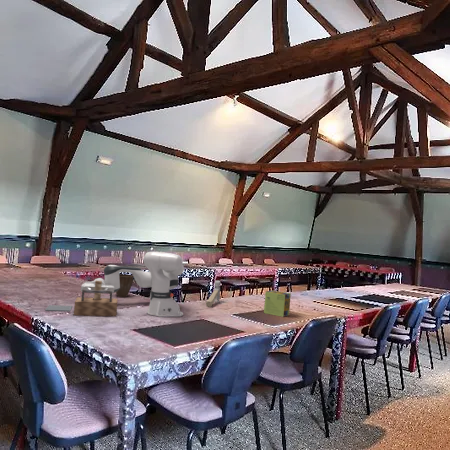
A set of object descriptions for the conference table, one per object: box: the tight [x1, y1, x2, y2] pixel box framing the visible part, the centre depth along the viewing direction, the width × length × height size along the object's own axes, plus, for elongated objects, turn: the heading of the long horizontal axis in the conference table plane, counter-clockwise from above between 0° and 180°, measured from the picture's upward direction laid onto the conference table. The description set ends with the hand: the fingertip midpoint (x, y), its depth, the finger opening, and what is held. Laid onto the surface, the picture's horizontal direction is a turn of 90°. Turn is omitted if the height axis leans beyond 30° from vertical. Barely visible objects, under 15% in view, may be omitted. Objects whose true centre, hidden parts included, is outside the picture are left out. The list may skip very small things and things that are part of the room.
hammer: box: [205, 280, 221, 308], centre depth 317 cm, size 16×5×30 cm
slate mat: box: [45, 304, 73, 312], centre depth 259 cm, size 14×14×1 cm
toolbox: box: [73, 290, 118, 317], centre depth 254 cm, size 24×14×14 cm, turn 104°
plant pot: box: [115, 273, 135, 298], centre depth 318 cm, size 15×15×16 cm
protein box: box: [263, 290, 292, 318], centre depth 298 cm, size 10×15×16 cm
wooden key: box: [93, 281, 102, 300], centre depth 257 cm, size 4×4×15 cm
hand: (97, 290), depth 260 cm, fingers open, 8 cm apart
